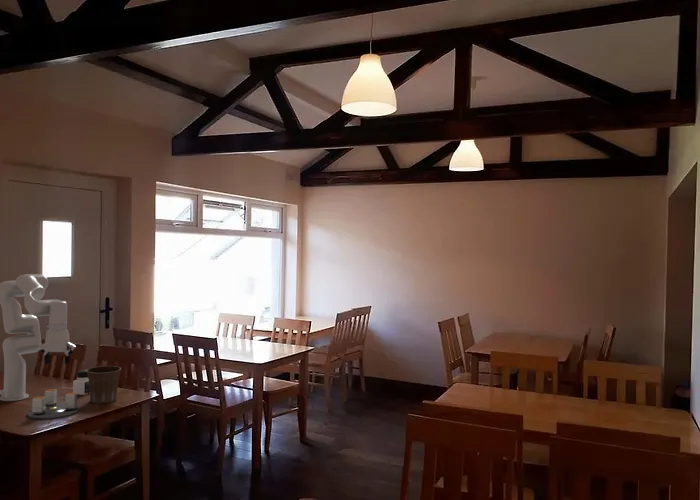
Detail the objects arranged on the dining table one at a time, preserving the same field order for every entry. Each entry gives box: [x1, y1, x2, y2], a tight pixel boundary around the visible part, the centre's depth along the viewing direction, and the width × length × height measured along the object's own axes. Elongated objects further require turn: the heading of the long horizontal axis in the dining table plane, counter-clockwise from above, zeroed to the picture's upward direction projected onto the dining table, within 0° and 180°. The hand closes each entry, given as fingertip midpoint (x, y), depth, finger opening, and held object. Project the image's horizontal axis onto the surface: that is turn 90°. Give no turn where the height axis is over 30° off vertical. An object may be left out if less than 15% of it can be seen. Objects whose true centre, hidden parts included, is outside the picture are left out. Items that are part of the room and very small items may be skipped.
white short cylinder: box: [64, 392, 78, 410], centre depth 267 cm, size 5×5×8 cm
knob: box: [31, 396, 46, 415], centre depth 259 cm, size 5×5×8 cm
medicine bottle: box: [72, 369, 90, 396], centre depth 303 cm, size 7×7×12 cm
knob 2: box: [44, 388, 58, 407], centre depth 272 cm, size 5×5×8 cm
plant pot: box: [85, 365, 122, 405], centre depth 289 cm, size 16×16×16 cm
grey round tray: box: [27, 403, 80, 421], centre depth 266 cm, size 21×21×2 cm
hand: (57, 363), depth 267 cm, fingers open, 9 cm apart
